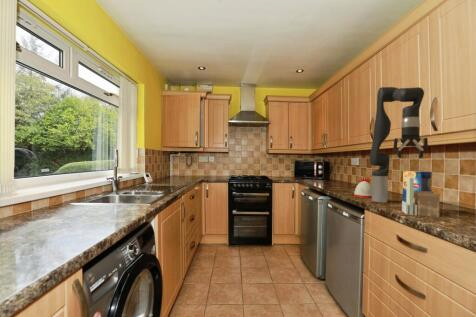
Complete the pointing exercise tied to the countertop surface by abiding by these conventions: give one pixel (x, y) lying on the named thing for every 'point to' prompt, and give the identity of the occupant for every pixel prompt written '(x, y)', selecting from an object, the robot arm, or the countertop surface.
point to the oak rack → (426, 203)
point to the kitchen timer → (363, 189)
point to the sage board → (410, 195)
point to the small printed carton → (405, 208)
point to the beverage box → (417, 181)
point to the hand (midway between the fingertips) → (409, 158)
